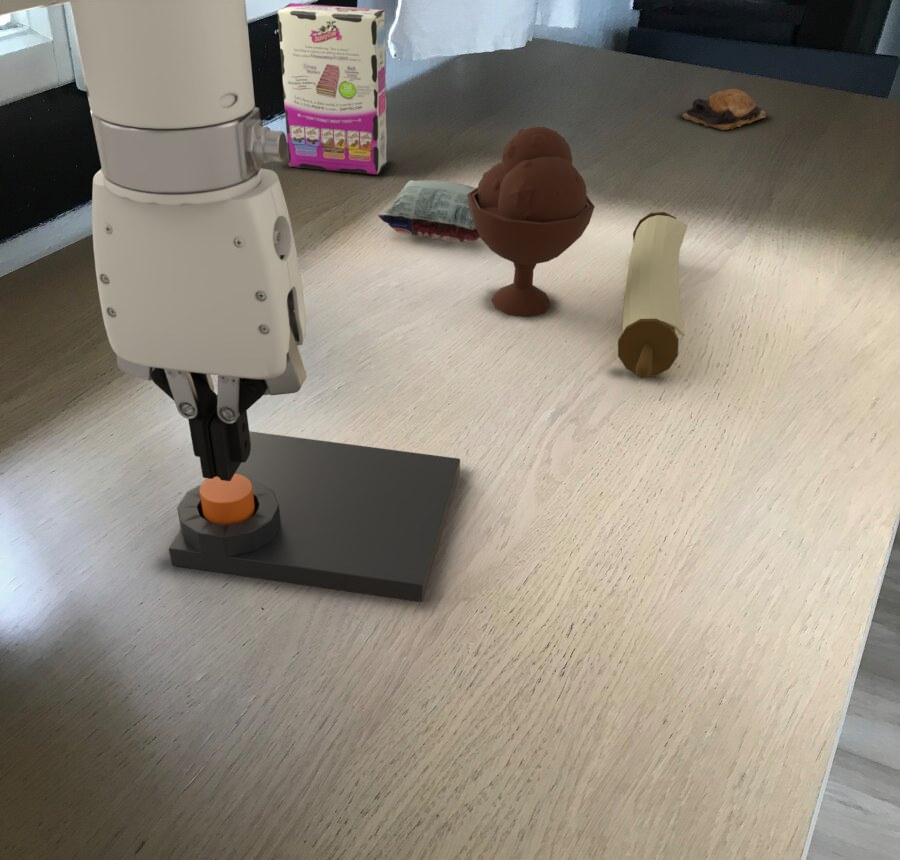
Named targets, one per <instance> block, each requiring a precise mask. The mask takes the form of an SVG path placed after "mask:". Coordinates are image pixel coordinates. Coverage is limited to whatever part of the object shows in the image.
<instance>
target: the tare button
mask: <svg viewBox="0 0 900 860" xmlns="http://www.w3.org/2000/svg"><path fill="white" fill-rule="evenodd" d="M200 485H201V486H200V490H199V491H200V497H201V504H202V510H203V515H204V517H205V518H206V519H207V520H208V521H209V522H211V523H216V524H223V525H228V524H234V523H239V522H243V521H245V520H247V519H248V518H250V517H251V516H252V515H253V513H254V510H255V505H254V497H253V488H252V483H251V482H250V480H249V479H248V478H246V477H244V476H242V475H239V474H234V476H233V477H232V479H231V481H224V480H221V479H220V478H219V477H214V478H213V479H209V478H205V480H204V481H202V482H201V484H200Z"/></svg>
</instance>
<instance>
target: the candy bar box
mask: <svg viewBox="0 0 900 860" xmlns="http://www.w3.org/2000/svg"><path fill="white" fill-rule="evenodd" d="M277 23H278V35H279V39H278V40H279V48H280V60H281V61H280V62H281V63H280V64H281V76H282V91H283V103H284V116H285V131H286V132H285V133H286V141H287V159H288V166H289V167H292V168H301V169H311V170H321V171H331V172H332V171H333V172H341V173H354V174H355V173H356V174H364V175H374V176H377V175H378V174H380V172H381V171H382V169H384V167H385V166H386V164H387V162H388V143H387V141H388V140H387V81H386V80H387V75H386V74H387V69H386V68H387V63H386V60H387V59H386V57H387V55H386V52H387V51H386V10H385V9H379V8H365V7H354V6H338V5H324V4H310V3H308V4H307V3H295V2H291V3H289V4H287V5H285V6H284V7H283V8H282V7H281V9H279V10H278V11H277Z"/></svg>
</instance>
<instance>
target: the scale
mask: <svg viewBox="0 0 900 860" xmlns="http://www.w3.org/2000/svg"><path fill="white" fill-rule="evenodd" d="M249 434H250V442H251V450H250V455H249V457H248V459H247V461H246V462H245V463H243V462H241V464H240V466H239V467H238V469H237V471H236V472H235V474H239V475H242V476H244V477H246V478H248V479H249V480H250V482H251V483H252V488H253V497H254V505H255V510H254V513H253V515H252V516H251V517H250V518H248V519H247V520H245V521H243V522H239V523H234V524H228V525H223V524H216V523H211V522H209V521H208V520H207V519H206V518H205V517H204V515H203V510H202V504H201V497H200V491H199V490H200V486H201V484H199V485H198V486H195V487H194V488H192V489H190V490H188V491H187V492H186V493H185V494H184V496H183V497H182V499H181V500H180V502H179V503H178V505H177V507H176V509H177V514H178V515H177V516H178V520H179V526H180V529H179V531H178V533H177V534H176V536H175V538H174V539H173V541H172V542H171V544H170V546H169V548H168V552H169V557H170V562H171V566H174V567H180V568H188V569H195V570H201V571H209V572H214V573H221V574H229V575H236V576H242V577H249V578H255V579H261V580H262V579H263V580H269V581H277V582H282V583H283V582H285V583H288V584H289V583H290V584H297V585H303V586H309V587H310V586H311V587H317V588H325V589H332V590H337V591H338V590H339V591H344V592H353V593H359V594H366V595H371V596H372V595H373V596H380V597H386V598H393V599H400V600H406V601H413V602H423V599H424V596H425V593H426V589H427V586H428V582H429V579H430V576H431V572H432V569H433V566H434V563H435V559H436V555H437V552H438V549H439V545H440V542H441V538H442V535H443V532H444V528H445V525H446V521H447V518H448V514H449V511H450V508H451V504H452V501H453V498H454V495H455V492H456V491H455V490H456V488H457V484H458V481H459V478H460V473H461V471H460V470H461V458H458V457H449V456H443V455H435V454H427V453H419V452H411V451H404V450H397V449H390V448H381V447H373V446H365V445H359V444H352V443H351V444H350V443H343V442H335V441H329V440H319V439H311V438H304V437H296V436H288V435H282V434H281V435H280V434H274V433H266V432H259V431H250V430H249Z"/></svg>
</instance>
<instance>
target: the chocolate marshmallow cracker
mask: <svg viewBox="0 0 900 860" xmlns="http://www.w3.org/2000/svg"><path fill="white" fill-rule="evenodd" d="M681 117H682V118H684V120H688V121H691V122H693V123H695V124H701V125H704V126H705V127H711V128H714V129H718V130H721V131H726V130H729V129H730V130H733V129H734V128H737V127H742V126H743V125H745V124H748V125H749V124H751V123H754V122H755V121H759V120H761V119H765V118H766V111H764V110H762V107H758V106H757V105H756V103H755V101H754V99H753V98H752V97H751V96H750V95H749V94H748V93H747V92H745V91H743V90H740V89H738V88H730V89H724V90H719V91H717V92H714V93H713V94H710V95H709V96H707V99H706V100H705V99H702V98H696V99H695V100H693V102H692V107H691V108H690V109H687V110H686V111H685V112H684V113H683V114H682V116H681Z"/></svg>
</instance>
